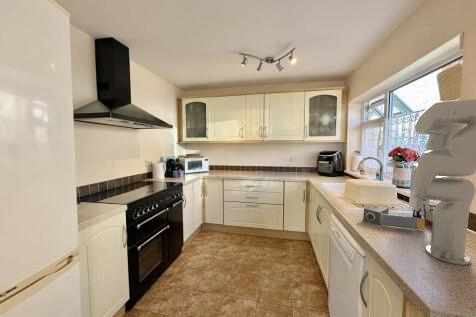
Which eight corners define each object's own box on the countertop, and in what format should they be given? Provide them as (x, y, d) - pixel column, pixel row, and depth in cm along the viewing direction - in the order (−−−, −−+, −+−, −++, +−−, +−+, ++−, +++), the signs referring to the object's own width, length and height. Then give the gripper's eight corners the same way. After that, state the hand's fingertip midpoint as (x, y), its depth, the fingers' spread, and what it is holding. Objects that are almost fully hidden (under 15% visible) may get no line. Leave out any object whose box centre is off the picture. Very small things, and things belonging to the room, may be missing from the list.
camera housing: (377, 225, 111) (378, 212, 110) (362, 221, 118) (362, 208, 117) (387, 220, 119) (388, 207, 118) (372, 215, 125) (373, 203, 125)
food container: (438, 222, 115) (440, 204, 114) (448, 227, 109) (450, 208, 108) (414, 221, 117) (415, 204, 116) (423, 226, 111) (424, 207, 110)
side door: (380, 225, 111) (381, 213, 110) (379, 224, 112) (380, 213, 111) (424, 230, 104) (425, 218, 104) (423, 230, 105) (424, 217, 104)
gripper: (437, 192, 97) (433, 230, 100) (421, 185, 111) (418, 218, 114) (417, 191, 100) (414, 228, 102) (404, 184, 114) (401, 216, 116)
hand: (416, 222), depth 108 cm, fingers closed
